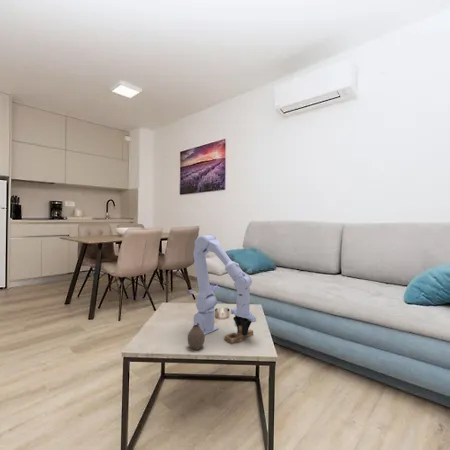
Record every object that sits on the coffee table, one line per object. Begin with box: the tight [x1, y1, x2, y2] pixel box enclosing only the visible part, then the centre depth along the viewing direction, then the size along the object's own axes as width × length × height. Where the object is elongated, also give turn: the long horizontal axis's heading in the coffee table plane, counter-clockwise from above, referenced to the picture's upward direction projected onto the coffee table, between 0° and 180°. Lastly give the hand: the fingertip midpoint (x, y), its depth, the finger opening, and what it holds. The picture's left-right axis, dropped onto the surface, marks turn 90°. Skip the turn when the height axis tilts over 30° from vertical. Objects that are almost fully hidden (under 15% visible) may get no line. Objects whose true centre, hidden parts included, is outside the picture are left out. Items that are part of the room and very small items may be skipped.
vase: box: [187, 324, 206, 350], centre depth 115 cm, size 7×7×9 cm
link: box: [223, 325, 254, 345], centre depth 124 cm, size 14×5×5 cm, turn 129°
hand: (242, 333), depth 125 cm, fingers closed on link, 2 cm apart
